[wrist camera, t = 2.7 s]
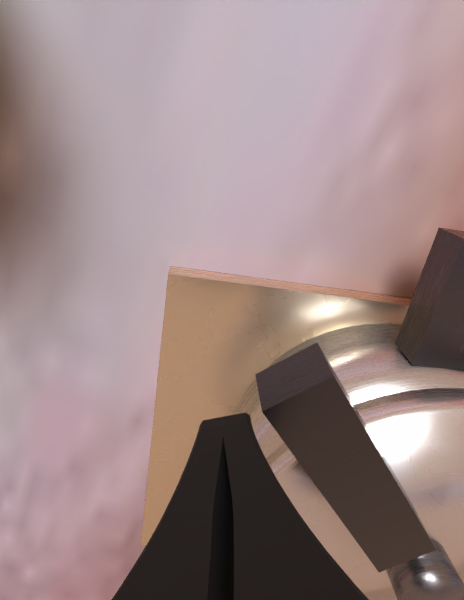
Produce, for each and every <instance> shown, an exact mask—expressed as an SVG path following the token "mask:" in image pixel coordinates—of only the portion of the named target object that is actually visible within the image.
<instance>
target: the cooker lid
mask: <svg viewBox="0 0 464 600" xmlns="http://www.w3.org/2000/svg"><path fill="white" fill-rule="evenodd" d="M255 375H256V381H257V387H258V392H259V398H260V403H261V409H262V412H263V414H264V415H265V417H266V418H267V419H268V421H269V422H270V423H271V425H272V426H273V428H274V429H275V430H276V432H277V433H278V434H279V436H280V437H281V439H282V440H283V441H284V443H283V444H282V445H281V446H280V447H278V448H277V449H276V450H275V451H274V452H273V453H272V454H271V455H269V456H268V457H267V458H266V460H267V462H268V464H269V465H270V467H271V469H272V471H273V473H274V475H275V476H276V478H277V480H278V482H279V483H280V485H281V487H282V488H283V490H284V491H285V493H286V495H287V496H288V498H289V499H290V501H291V502H292V504H293V505H294V507H295V508H296V510H297V511H298V513H299V514H300V516H301V517H302V518H303V520H304V521H305V523H306V524H307V525H308V527H309V528H310V530H311V531H312V532H313V534H314V535H315V536H316V537H317V539H318V540H319V541H320V543H321V544H322V545H323V547H324V548H325V549H326V550H327V552H328V553H329V554H330V555H331V556H332V558H333V559H334V560H335V561H336V562H337V563H338V565H339V566H340V567H341V568H342V569H343V571H344V572H345V573H346V574H347V575H348V577H349V578H350V579H351V580H352V581H353V582H354V584H355V585H356V586H357V587H358V588H359V589H360V590H361V591H362V592H363V594H364V595H365V596H366V597H367V598H368V599H369V600H464V388H432V389H422V390H411V391H405V392H400V393H395V394H390V395H385V396H380V397H377V398H374V399H371V400H367V401H364V402H361V403H358V404H353V402H352V401H351V399H350V397H349V395H348V394H347V392H346V390H345V389H344V387H343V385H342V383H341V382H340V380H339V378H338V377H337V375H336V373H335V372H334V370H333V368H332V366H331V365H330V363H329V361H328V360H327V358H326V356H325V354H324V353H323V351H322V349H321V348H320V346H319V344H318V343H315V344H313V345H311V346H309V347H307V348H305V349H303V350H301V351H299V352H297V353H295V354H294V355H292V356H290V357H288V358H286V359H284V360H282V361H280V362H278V363H276V364H274V365H272V366H270V367H269V368H267V369H265V370H263V371H261V372H259V373H257V374H255Z"/></svg>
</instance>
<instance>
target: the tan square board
mask: <svg viewBox="0 0 464 600" xmlns="http://www.w3.org/2000/svg"><path fill="white" fill-rule="evenodd" d="M315 343H318V344H319V346H320V348H321V349H322V351H323V353H324V354H325V356H326V358H327V360H328V361H329V363H330V365H331V366H332V368H333V370H334V372H335V373H336V375H337V377H338V378H339V380H340V382H341V383H342V385H343V387H344V389H345V390H346V392H347V394H348V395H349V397H350V399H351V401H352V402H353V404H358V403H361V402H364V401H367V400H371V399H374V398H377V397H380V396H385V395H390V394H395V393H400V392H405V391H411V390H422V389H432V388H464V231H458V230H452V229H445V228H439V229H438V232H437V234H436V237H435V240H434V242H433V245H432V247H431V250H430V253H429V255H428V258H427V260H426V263H425V266H424V268H423V271H422V274H421V276H420V279H419V281H418V284H417V287H416V289H415V292H414V294H413V297H412V298H404V297H397V296H389V295H382V294H374V293H367V292H359V291H352V290H345V289H337V288H330V287H322V286H315V285H307V284H300V283H293V282H285V281H278V280H270V279H263V278H255V277H248V276H240V275H233V274H226V273H218V272H211V271H203V270H196V269H188V268H181V267H174V266H170V270H169V273H168V282H167V292H166V301H165V311H164V321H163V331H162V341H161V351H160V361H159V370H158V380H157V390H156V400H155V410H154V420H153V430H152V440H151V449H150V459H149V469H148V479H147V489H146V499H145V509H144V519H143V528H142V538H141V546H146V545H147V543H148V542H149V540H150V538H151V536H152V535H153V533H154V531H155V529H156V527H157V525H158V524H159V522H160V520H161V518H162V516H163V514H164V512H165V510H166V508H167V506H168V504H169V502H170V500H171V497H172V495H173V493H174V491H175V489H176V487H177V485H178V482H179V480H180V478H181V475H182V473H183V471H184V468H185V466H186V464H187V461H188V459H189V456H190V453H191V451H192V448H193V445H194V442H195V439H196V436H197V433H198V430H199V426H200V424H201V422H202V421H203V420H208V419H213V418H218V417H224V416H229V415H235V414H240V413H247V414H249V415H250V418H251V423H252V427H253V431H254V433H255V436H256V439H257V441H258V443H259V446H260V448H261V450H262V452H263V454H264V456H265V458H267V457H268V456H269V455H271V454H272V453H273V452H274V451H275V450H276V449H277V448H278V447H280V446H281V445H282V444H283V443H284V441H283V440H282V439H281V437H280V436H279V434H278V433H277V432H276V430H275V429H274V428H273V426H272V425H271V423H270V422H269V421H268V419H267V418H266V417H265V415H264V414H263V412H262V409H261V403H260V398H259V392H258V387H257V381H256V375H255V374H257V373H259V372H261V371H263V370H265V369H267V368H269V367H270V366H272V365H274V364H276V363H278V362H280V361H282V360H284V359H286V358H288V357H290V356H292V355H294V354H295V353H297V352H299V351H301V350H303V349H305V348H307V347H309V346H311V345H313V344H315Z"/></svg>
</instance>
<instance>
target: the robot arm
mask: <svg viewBox="0 0 464 600" xmlns="http://www.w3.org/2000/svg"><path fill="white" fill-rule="evenodd" d="M112 600H369V599H368V598H367V597H366V596H365V595H364V594H363V592H362V591H361V590H360V589H359V588H358V587H357V586H356V585H355V584H354V582H353V581H352V580H351V579H350V578H349V577H348V575H347V574H346V573H345V572H344V571H343V569H342V568H341V567H340V566H339V565H338V563H337V562H336V561H335V560H334V559H333V558H332V556H331V555H330V554H329V553H328V552H327V550H326V549H325V548H324V547H323V545H322V544H321V543H320V541H319V540H318V539H317V537H316V536H315V535H314V534H313V532H312V531H311V530H310V528H309V527H308V525H307V524H306V523H305V521H304V520H303V518H302V517H301V516H300V514H299V513H298V511H297V510H296V508H295V507H294V505H293V504H292V502H291V501H290V499H289V498H288V496H287V495H286V493H285V491H284V490H283V488H282V487H281V485H280V483H279V482H278V480H277V478H276V476H275V475H274V473H273V471H272V469H271V467H270V465H269V464H268V462H267V460H266V458H265V456H264V454H263V452H262V450H261V448H260V446H259V443H258V441H257V439H256V436H255V433H254V431H253V427H252V423H251V418H250V415H249V414H247V413H240V414H235V415H229V416H224V417H218V418H213V419H208V420H203V421H202V422H201V424H200V426H199V430H198V433H197V436H196V439H195V442H194V445H193V448H192V451H191V453H190V456H189V459H188V461H187V464H186V466H185V468H184V471H183V473H182V475H181V478H180V480H179V482H178V485H177V487H176V489H175V491H174V493H173V495H172V497H171V500H170V502H169V504H168V506H167V508H166V510H165V512H164V514H163V516H162V518H161V520H160V522H159V524H158V525H157V527H156V529H155V531H154V533H153V535H152V536H151V538H150V540H149V542H148V543H147V545H146V547H145V548H144V550H143V552H142V554H141V555H140V557H139V559H138V560H137V562H136V563H135V565H134V566H133V568H132V570H131V571H130V573H129V574H128V576H127V577H126V579H125V580H124V582H123V584H122V585H121V587H120V588H119V590H118V591H117V593H116V594H115V596H114V597H113V598H112Z"/></svg>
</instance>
